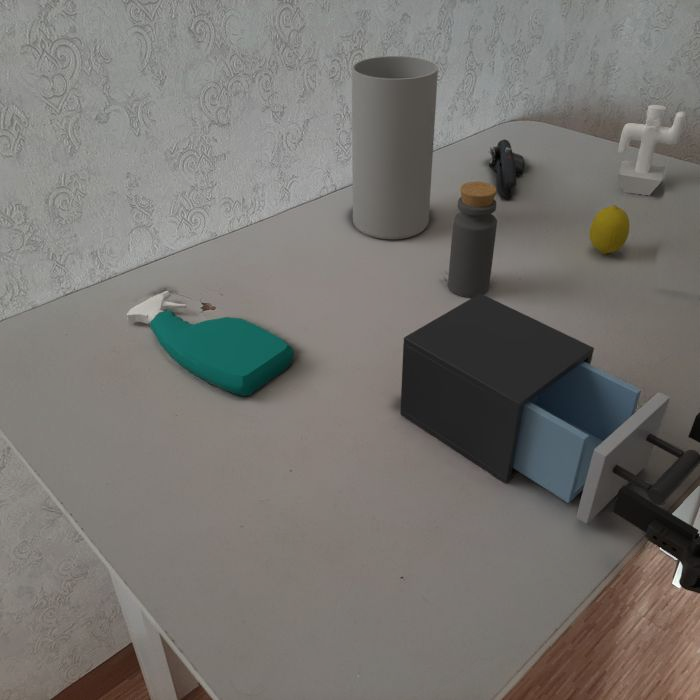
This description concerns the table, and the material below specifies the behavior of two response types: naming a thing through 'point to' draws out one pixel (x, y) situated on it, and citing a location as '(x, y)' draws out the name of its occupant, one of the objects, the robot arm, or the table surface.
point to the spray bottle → (216, 346)
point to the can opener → (506, 167)
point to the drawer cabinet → (482, 378)
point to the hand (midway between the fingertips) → (657, 459)
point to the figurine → (647, 150)
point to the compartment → (596, 440)
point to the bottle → (473, 240)
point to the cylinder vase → (392, 144)
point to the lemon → (609, 229)
